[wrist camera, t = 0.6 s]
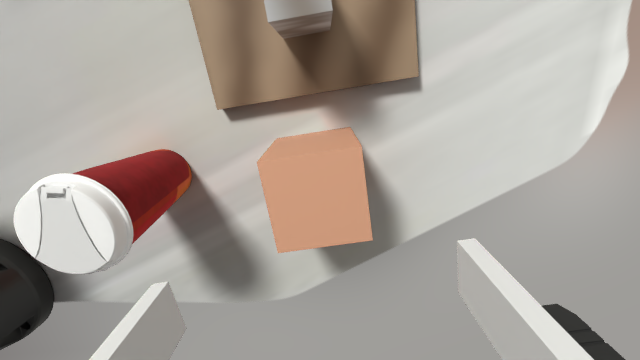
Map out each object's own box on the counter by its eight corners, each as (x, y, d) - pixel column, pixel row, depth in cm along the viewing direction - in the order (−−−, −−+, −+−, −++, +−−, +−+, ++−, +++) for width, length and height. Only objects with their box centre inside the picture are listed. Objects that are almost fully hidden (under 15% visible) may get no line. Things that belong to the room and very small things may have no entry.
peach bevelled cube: (290, 206, 34) (278, 253, 25) (276, 138, 32) (256, 162, 23) (358, 196, 34) (372, 240, 24) (350, 126, 32) (361, 146, 22)
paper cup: (127, 137, 32) (-10, 176, 19) (198, 141, 32) (111, 182, 19) (138, 204, 35) (22, 279, 21) (204, 207, 35) (129, 285, 21)
